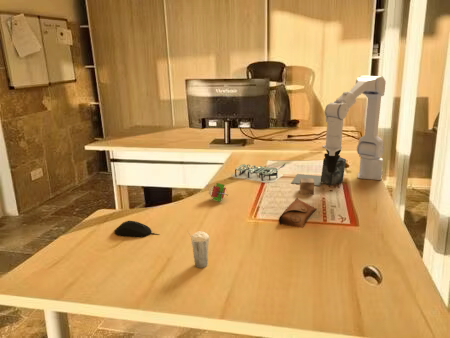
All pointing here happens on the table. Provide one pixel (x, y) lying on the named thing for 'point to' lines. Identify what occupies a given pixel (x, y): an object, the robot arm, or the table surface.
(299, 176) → the mat
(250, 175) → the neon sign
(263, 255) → the table surface
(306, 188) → the walnut block
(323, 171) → the box
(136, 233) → the gaming mouse
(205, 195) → the table surface
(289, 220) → the sunglasses case
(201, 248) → the milkshake
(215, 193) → the geometric puzzle
